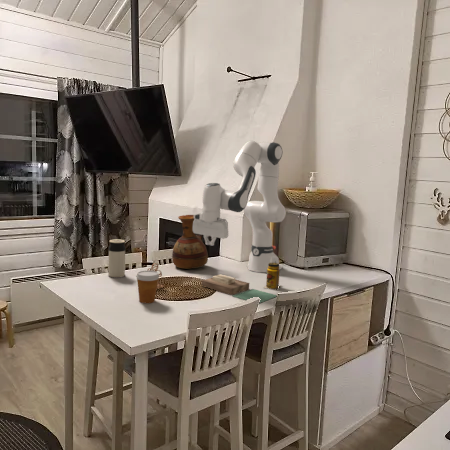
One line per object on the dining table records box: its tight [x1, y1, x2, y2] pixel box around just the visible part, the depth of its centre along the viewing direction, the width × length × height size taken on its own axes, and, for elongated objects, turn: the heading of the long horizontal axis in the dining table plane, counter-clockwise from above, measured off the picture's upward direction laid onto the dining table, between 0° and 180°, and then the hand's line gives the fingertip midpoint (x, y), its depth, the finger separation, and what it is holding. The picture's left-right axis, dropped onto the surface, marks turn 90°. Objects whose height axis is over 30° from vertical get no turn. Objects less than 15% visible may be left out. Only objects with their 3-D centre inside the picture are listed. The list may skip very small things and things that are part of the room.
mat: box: [232, 288, 277, 304], centre depth 191 cm, size 16×14×1 cm
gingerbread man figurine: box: [146, 262, 165, 288], centre depth 193 cm, size 9×4×12 cm, turn 138°
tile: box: [212, 273, 236, 284], centre depth 201 cm, size 6×9×2 cm, turn 52°
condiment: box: [263, 263, 283, 291], centre depth 206 cm, size 7×8×12 cm
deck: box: [200, 277, 250, 296], centre depth 201 cm, size 14×18×3 cm
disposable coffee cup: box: [135, 270, 160, 304], centre depth 175 cm, size 10×10×12 cm
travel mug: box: [107, 238, 126, 278], centre depth 211 cm, size 8×8×18 cm
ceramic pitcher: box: [171, 214, 209, 270], centre depth 236 cm, size 20×20×30 cm
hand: (209, 244), depth 205 cm, fingers closed
